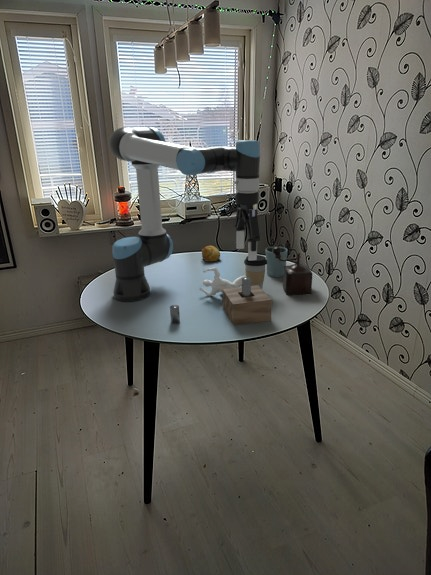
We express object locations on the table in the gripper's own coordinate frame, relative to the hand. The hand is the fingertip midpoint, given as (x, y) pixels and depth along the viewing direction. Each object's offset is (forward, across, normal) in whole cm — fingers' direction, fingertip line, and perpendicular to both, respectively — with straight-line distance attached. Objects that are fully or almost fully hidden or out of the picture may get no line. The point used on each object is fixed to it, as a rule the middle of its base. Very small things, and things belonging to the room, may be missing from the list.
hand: (246, 254), depth 131 cm
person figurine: (+24, -18, -3) cm, 30 cm away
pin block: (+23, 0, 0) cm, 23 cm away
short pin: (+23, -1, -26) cm, 35 cm away
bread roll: (+24, -68, +3) cm, 72 cm away
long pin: (+23, 0, 0) cm, 23 cm away
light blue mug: (+23, -37, +27) cm, 51 cm away
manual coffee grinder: (+23, -17, +25) cm, 38 cm away
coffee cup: (+23, -19, +10) cm, 32 cm away
